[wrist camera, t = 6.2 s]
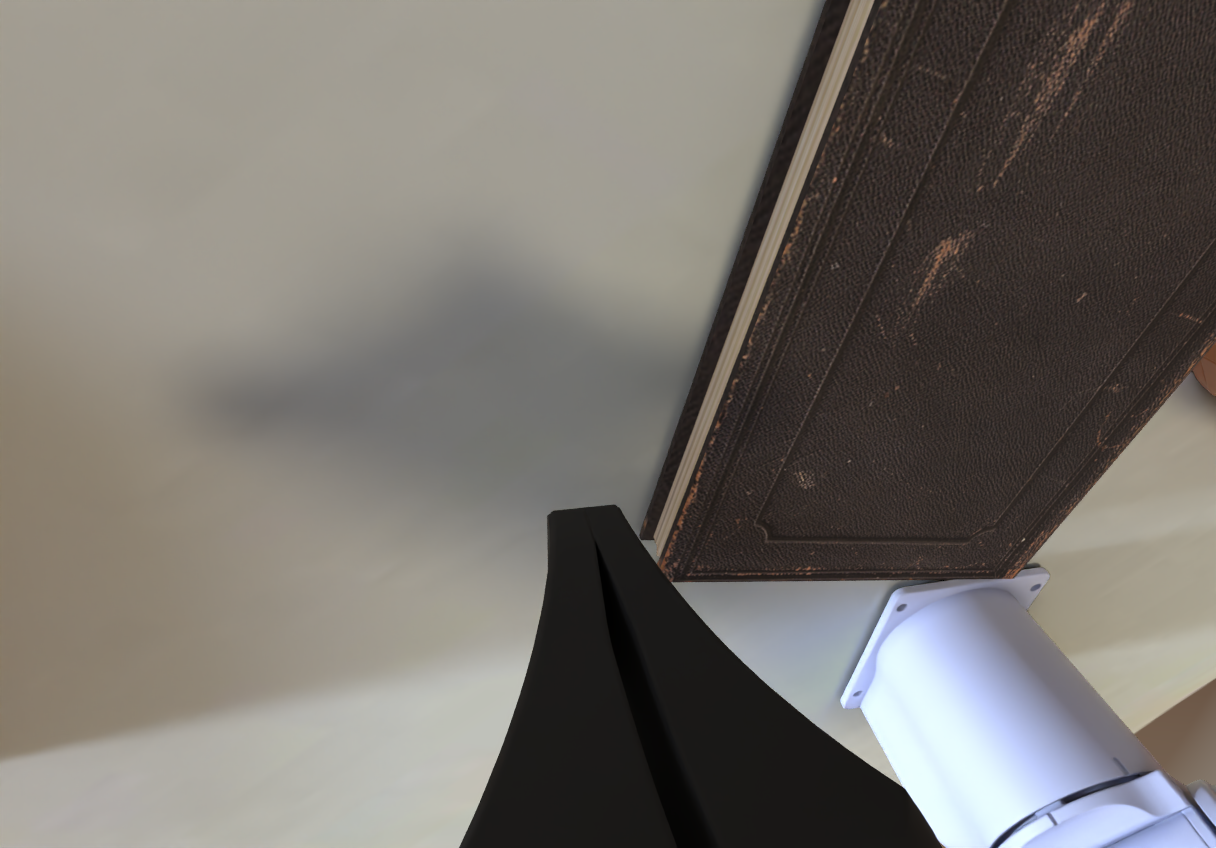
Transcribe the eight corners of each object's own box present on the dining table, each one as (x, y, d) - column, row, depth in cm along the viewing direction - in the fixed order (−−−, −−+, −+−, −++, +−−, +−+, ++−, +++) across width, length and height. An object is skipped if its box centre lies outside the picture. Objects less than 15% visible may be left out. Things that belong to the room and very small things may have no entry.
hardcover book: (638, 533, 23) (655, 583, 21) (994, -489, 10) (1114, -584, 8) (986, 538, 27) (1024, 580, 26) (1529, -159, 15) (1679, -174, 13)
